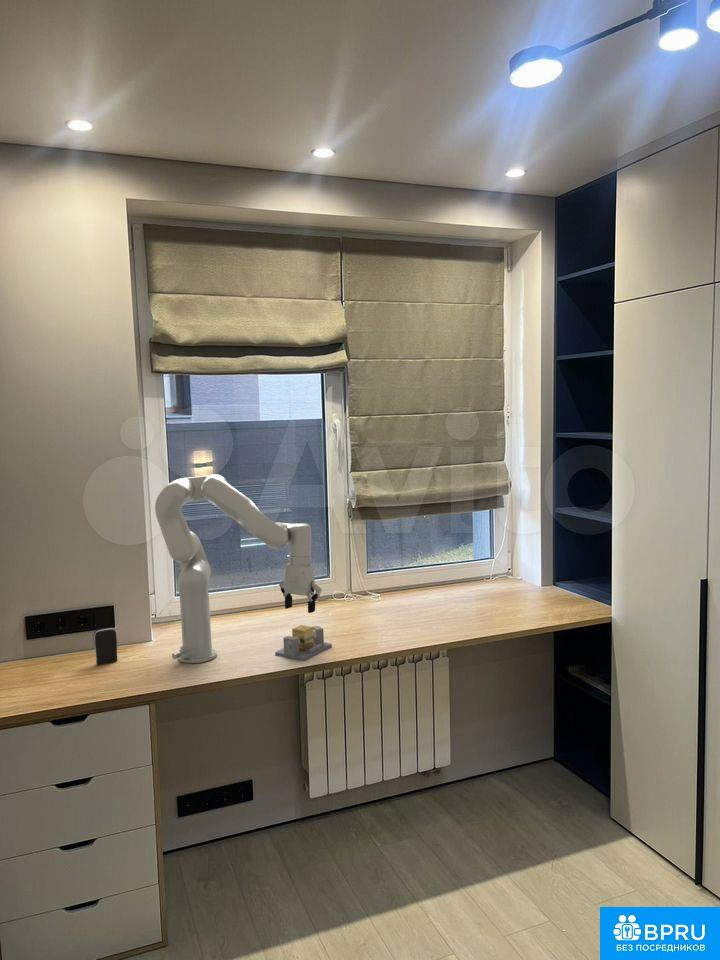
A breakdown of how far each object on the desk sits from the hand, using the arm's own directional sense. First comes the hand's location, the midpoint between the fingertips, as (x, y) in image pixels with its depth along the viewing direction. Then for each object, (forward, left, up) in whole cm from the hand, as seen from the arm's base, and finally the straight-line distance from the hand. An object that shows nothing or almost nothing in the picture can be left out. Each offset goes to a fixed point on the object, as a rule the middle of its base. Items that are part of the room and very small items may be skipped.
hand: (299, 610), depth 240 cm
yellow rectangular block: (0, -1, -13) cm, 13 cm away
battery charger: (-39, +51, -15) cm, 66 cm away
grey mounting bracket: (+1, -1, -14) cm, 14 cm away
